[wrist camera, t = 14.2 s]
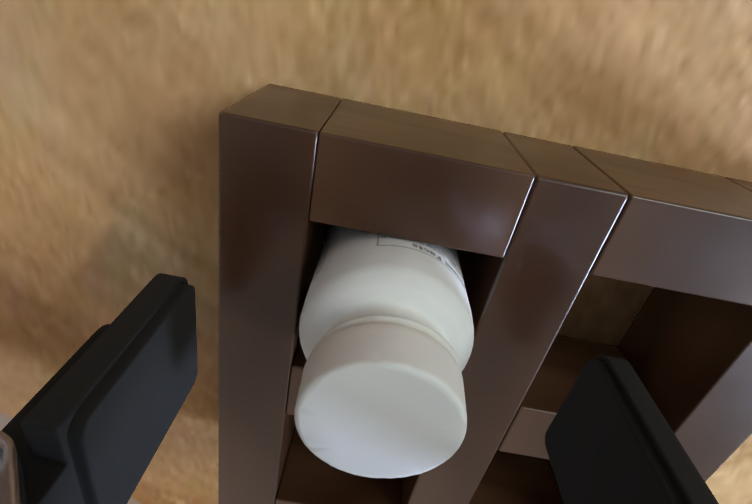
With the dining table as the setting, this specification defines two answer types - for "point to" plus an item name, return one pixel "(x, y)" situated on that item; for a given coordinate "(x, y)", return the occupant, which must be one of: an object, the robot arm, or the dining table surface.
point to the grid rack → (472, 287)
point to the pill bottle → (384, 355)
